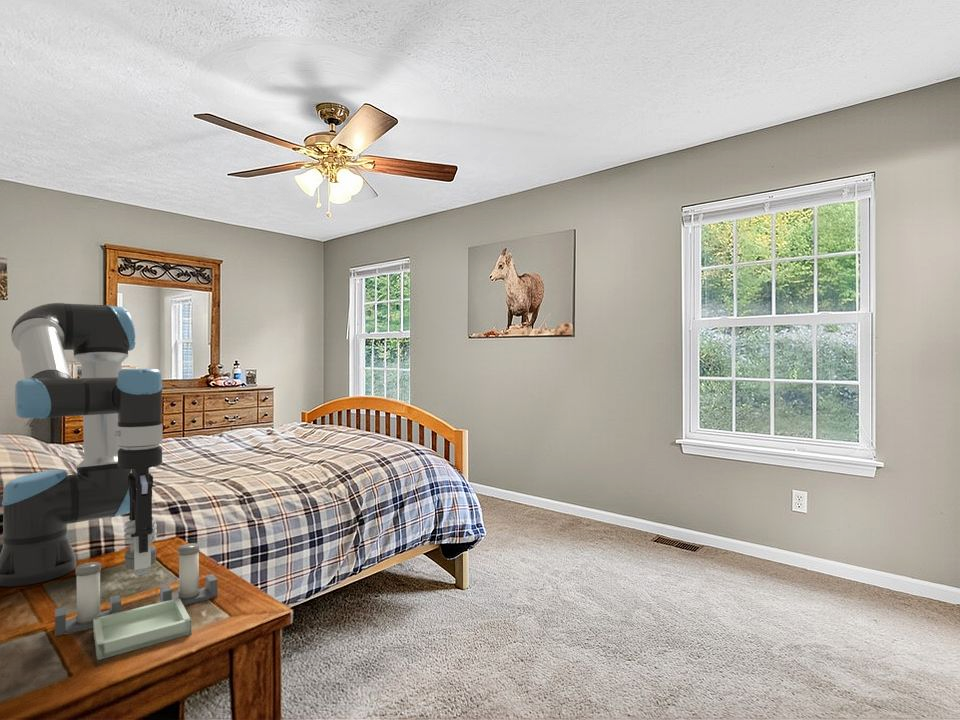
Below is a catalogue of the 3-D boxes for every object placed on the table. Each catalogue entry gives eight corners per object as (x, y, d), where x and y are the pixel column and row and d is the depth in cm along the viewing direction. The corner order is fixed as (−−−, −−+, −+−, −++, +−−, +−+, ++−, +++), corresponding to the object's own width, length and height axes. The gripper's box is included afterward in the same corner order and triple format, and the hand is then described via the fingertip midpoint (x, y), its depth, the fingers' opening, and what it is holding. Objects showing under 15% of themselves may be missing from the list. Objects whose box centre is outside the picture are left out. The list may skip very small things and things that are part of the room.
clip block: (55, 626, 102) (55, 608, 102) (212, 589, 119) (212, 573, 119) (55, 637, 98) (55, 617, 98) (218, 596, 115) (217, 580, 115)
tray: (93, 632, 100) (93, 618, 100) (179, 610, 109) (179, 597, 109) (97, 660, 91) (97, 645, 91) (191, 633, 99) (191, 620, 99)
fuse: (75, 618, 104) (75, 565, 104) (100, 612, 106) (100, 560, 106) (76, 626, 101) (75, 571, 101) (101, 620, 103) (101, 566, 103)
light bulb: (141, 583, 106) (141, 522, 105) (116, 580, 107) (116, 519, 107) (163, 571, 111) (163, 513, 111) (140, 569, 112) (139, 511, 112)
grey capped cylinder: (176, 594, 114) (176, 545, 114) (197, 589, 117) (197, 542, 117) (180, 601, 111) (179, 550, 111) (201, 596, 113) (201, 546, 114)
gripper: (113, 442, 114) (113, 553, 114) (122, 455, 99) (122, 583, 99) (155, 438, 118) (155, 546, 119) (169, 451, 104) (169, 573, 104)
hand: (140, 562), depth 109 cm, fingers closed on light bulb, 6 cm apart
